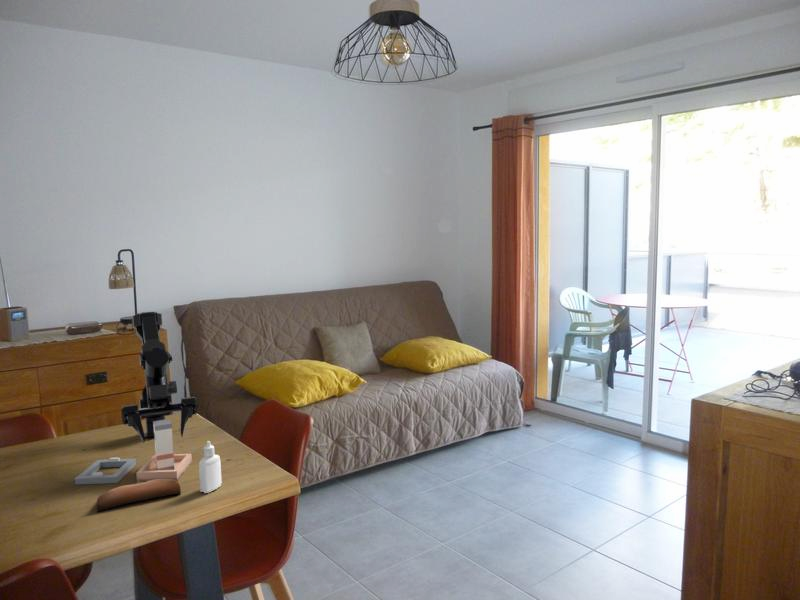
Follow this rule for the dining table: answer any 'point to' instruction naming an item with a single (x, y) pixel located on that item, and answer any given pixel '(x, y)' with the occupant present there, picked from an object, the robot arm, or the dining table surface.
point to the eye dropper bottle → (209, 470)
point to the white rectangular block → (163, 444)
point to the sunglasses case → (137, 493)
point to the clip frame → (97, 477)
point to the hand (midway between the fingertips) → (163, 438)
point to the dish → (152, 473)
